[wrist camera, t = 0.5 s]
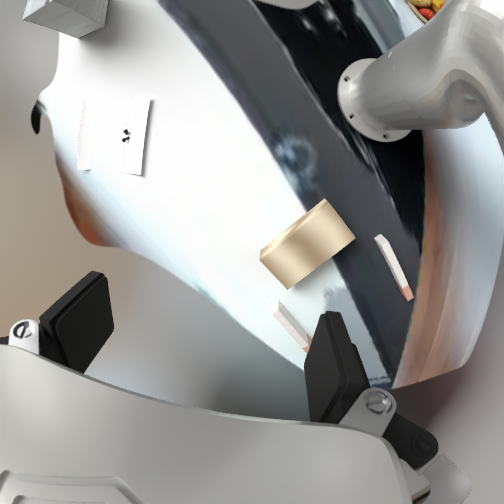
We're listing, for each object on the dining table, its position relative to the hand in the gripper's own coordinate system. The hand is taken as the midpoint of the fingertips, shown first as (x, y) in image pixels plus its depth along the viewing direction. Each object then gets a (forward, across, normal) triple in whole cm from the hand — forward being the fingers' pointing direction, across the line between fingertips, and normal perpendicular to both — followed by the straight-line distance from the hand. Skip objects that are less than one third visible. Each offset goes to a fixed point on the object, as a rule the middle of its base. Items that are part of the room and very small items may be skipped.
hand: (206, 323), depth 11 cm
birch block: (+29, -9, +5) cm, 31 cm away
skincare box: (+29, +32, -31) cm, 53 cm away
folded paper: (+30, +22, -8) cm, 38 cm away
